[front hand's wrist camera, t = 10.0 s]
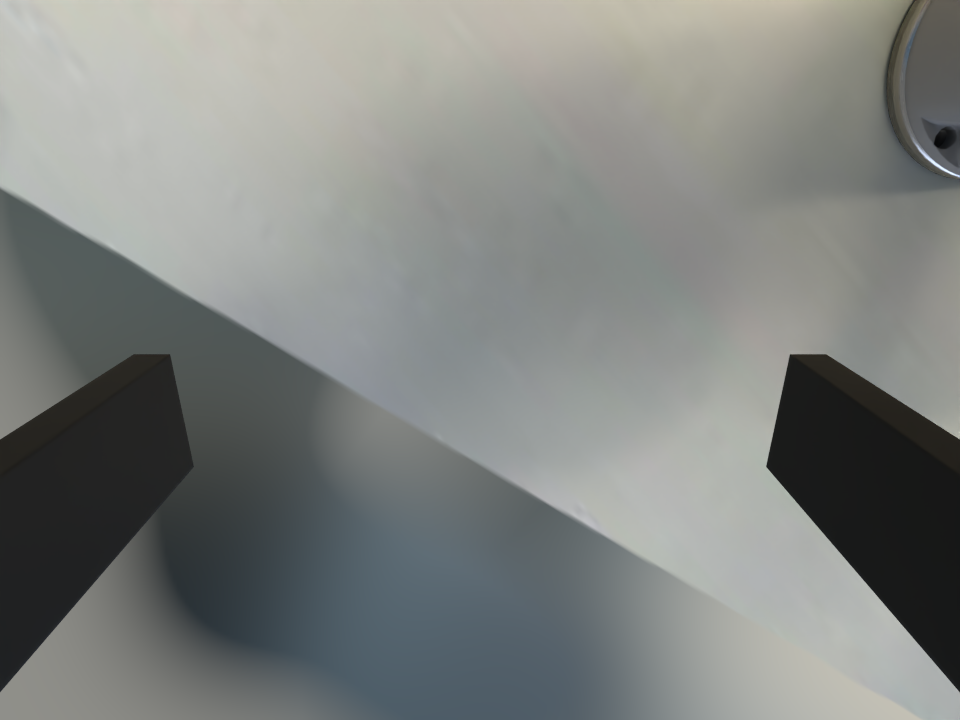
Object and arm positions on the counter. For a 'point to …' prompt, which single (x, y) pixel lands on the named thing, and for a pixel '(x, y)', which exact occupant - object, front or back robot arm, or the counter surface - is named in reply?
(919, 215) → the counter surface
